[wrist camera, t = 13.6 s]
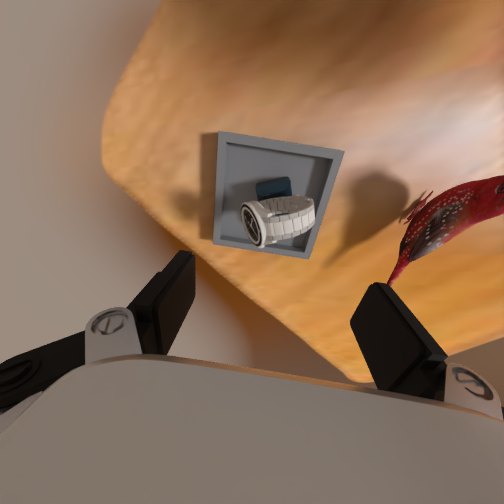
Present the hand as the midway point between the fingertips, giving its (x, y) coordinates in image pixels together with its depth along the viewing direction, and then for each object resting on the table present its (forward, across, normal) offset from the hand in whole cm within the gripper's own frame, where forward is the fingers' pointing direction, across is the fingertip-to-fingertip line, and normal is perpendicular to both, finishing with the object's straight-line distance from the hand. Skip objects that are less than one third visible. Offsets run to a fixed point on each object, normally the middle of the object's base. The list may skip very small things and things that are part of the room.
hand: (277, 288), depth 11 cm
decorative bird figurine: (+21, -20, 0) cm, 29 cm away
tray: (+21, 0, 0) cm, 21 cm away
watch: (+20, 0, 0) cm, 20 cm away
